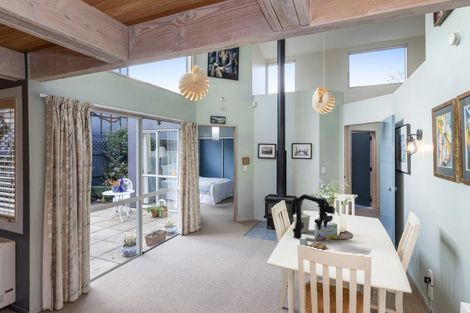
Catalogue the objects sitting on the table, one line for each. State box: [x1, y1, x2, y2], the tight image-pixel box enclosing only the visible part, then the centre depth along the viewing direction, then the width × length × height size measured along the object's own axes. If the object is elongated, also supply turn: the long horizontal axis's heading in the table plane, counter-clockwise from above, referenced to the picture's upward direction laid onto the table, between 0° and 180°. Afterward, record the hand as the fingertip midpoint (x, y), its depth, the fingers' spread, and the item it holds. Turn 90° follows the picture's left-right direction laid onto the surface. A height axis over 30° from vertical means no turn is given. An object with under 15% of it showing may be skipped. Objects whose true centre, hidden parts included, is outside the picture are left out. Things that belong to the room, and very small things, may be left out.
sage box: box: [299, 236, 308, 246], centre depth 232 cm, size 5×5×7 cm
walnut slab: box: [308, 241, 327, 251], centre depth 224 cm, size 11×11×3 cm
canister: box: [292, 211, 311, 234], centre depth 269 cm, size 18×18×21 cm
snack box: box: [314, 222, 338, 242], centre depth 244 cm, size 21×6×15 cm, turn 101°
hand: (322, 228), depth 232 cm, fingers open, 9 cm apart
